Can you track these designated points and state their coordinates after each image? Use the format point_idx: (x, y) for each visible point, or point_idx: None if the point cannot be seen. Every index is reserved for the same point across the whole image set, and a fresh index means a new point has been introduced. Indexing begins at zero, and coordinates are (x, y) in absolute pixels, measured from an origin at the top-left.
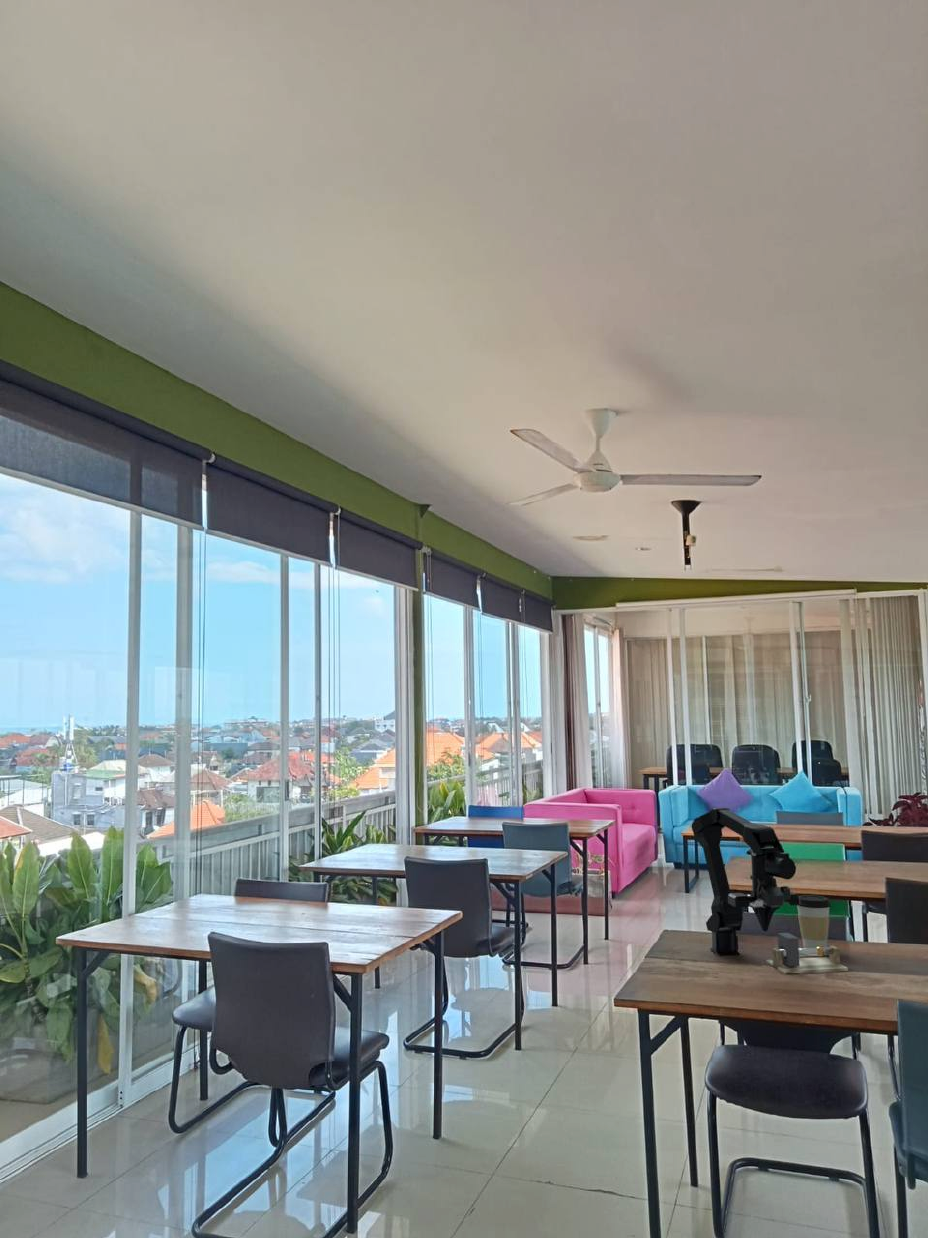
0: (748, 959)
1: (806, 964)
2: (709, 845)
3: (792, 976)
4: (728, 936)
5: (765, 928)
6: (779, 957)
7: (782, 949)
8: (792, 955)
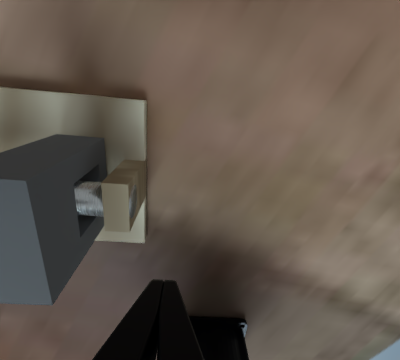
0: (181, 279)
1: None
2: None
3: (127, 65)
4: None
5: (165, 296)
6: (125, 173)
7: (87, 205)
8: (62, 146)
